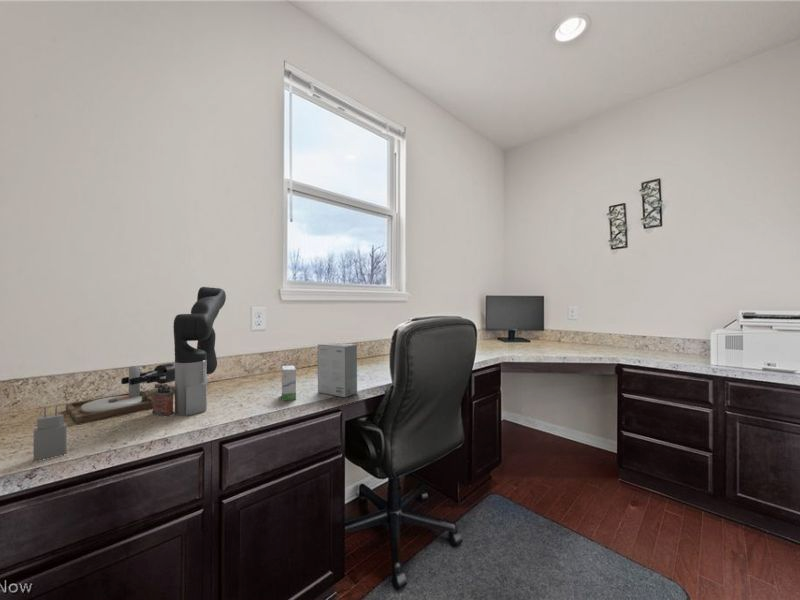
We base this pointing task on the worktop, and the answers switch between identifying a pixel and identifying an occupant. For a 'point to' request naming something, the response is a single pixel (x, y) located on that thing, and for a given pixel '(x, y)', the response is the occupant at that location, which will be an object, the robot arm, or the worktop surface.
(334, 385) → the hard drive box
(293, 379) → the ink box
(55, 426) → the power adapter
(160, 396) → the lighter
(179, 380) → the robot arm
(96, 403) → the cylinder on round base
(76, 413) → the wooden tray
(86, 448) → the worktop surface
